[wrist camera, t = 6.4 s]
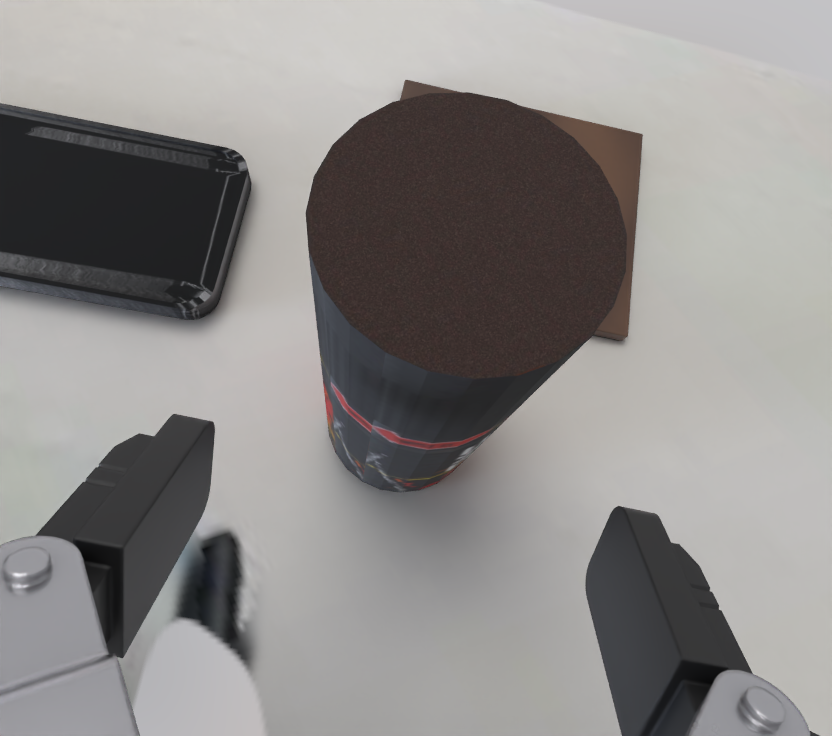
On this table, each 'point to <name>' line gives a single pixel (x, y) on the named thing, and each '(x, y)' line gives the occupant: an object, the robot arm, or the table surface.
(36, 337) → the table surface
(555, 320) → the deodorant
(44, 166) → the phone
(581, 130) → the walnut board
